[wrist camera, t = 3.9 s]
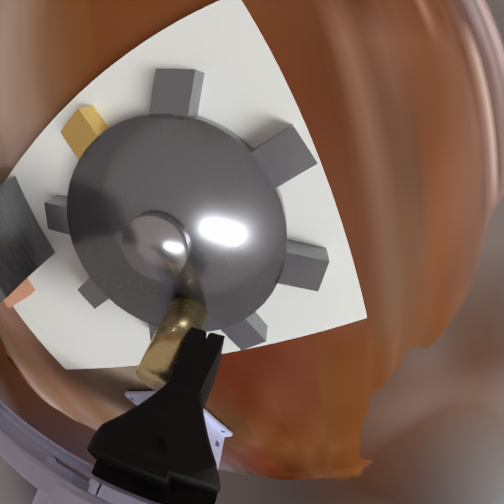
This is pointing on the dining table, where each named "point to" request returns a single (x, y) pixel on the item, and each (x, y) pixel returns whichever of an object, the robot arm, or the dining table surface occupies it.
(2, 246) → the grey rectangular block
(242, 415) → the dining table surface
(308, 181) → the board
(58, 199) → the sprocket
